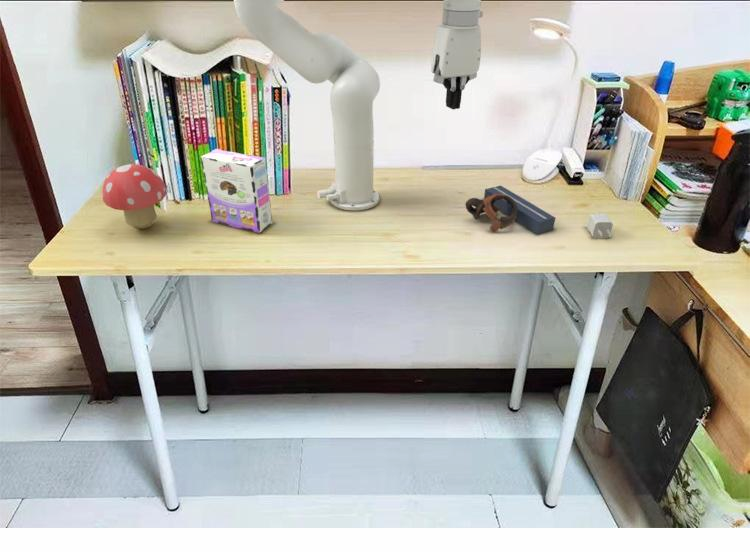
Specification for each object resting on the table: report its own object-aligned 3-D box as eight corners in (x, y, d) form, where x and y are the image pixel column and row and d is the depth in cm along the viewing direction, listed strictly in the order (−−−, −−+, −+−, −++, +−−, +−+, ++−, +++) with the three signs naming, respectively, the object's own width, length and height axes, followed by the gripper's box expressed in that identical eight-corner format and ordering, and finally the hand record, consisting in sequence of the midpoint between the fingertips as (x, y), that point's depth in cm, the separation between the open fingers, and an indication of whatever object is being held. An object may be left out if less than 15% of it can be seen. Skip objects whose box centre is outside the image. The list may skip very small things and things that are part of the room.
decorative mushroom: (119, 216, 134) (103, 156, 125) (177, 212, 135) (165, 153, 127) (106, 244, 123) (87, 180, 114) (169, 239, 124) (155, 177, 116)
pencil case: (536, 234, 128) (539, 221, 126) (483, 200, 143) (485, 188, 141) (553, 229, 130) (555, 217, 128) (499, 196, 145) (500, 184, 143)
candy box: (273, 223, 131) (267, 157, 122) (259, 234, 127) (251, 166, 118) (226, 211, 136) (216, 146, 127) (210, 221, 132) (199, 155, 123)
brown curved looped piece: (507, 214, 138) (521, 194, 130) (505, 245, 133) (520, 227, 126) (461, 201, 136) (473, 180, 129) (457, 232, 132) (469, 213, 124)
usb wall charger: (603, 228, 131) (607, 213, 129) (613, 243, 125) (617, 227, 123) (586, 228, 131) (589, 213, 129) (595, 243, 125) (599, 227, 123)
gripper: (478, 13, 121) (470, 99, 131) (420, 18, 115) (415, 107, 125) (500, 19, 115) (489, 107, 125) (440, 24, 109) (433, 116, 119)
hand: (452, 107), depth 125 cm, fingers closed
